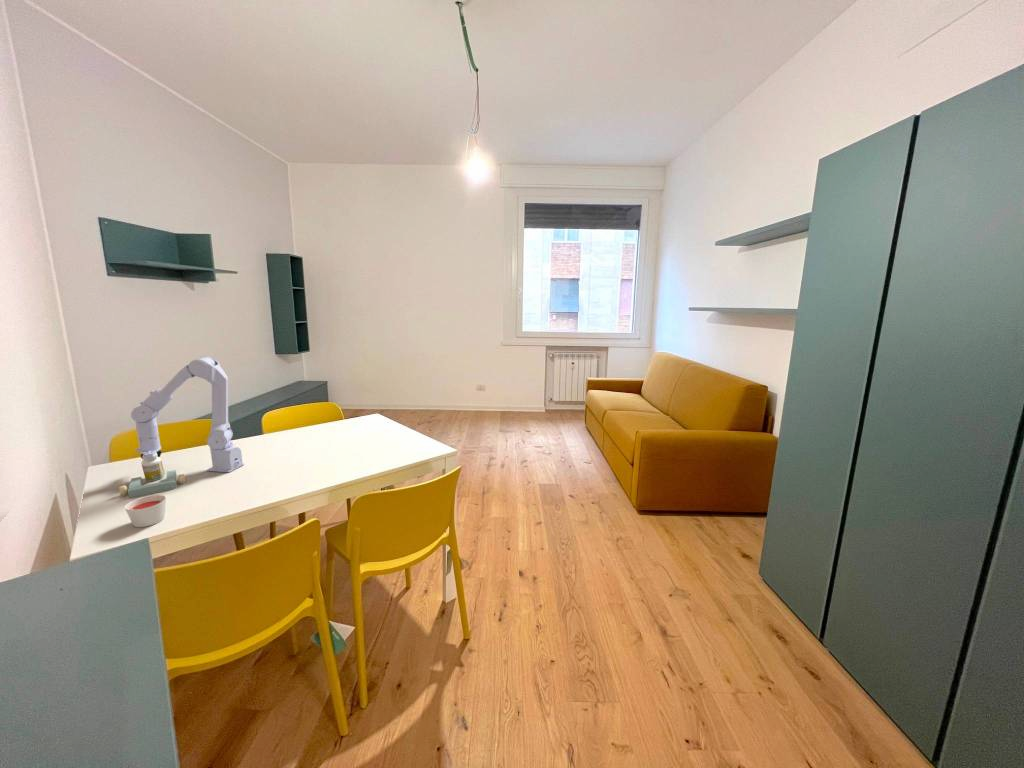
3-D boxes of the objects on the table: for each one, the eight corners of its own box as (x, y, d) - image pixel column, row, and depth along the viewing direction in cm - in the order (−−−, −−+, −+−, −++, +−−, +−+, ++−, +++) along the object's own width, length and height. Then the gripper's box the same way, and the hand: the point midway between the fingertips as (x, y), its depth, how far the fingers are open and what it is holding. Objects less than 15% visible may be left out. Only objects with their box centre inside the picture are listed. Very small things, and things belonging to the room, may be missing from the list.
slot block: (123, 486, 138) (121, 479, 138) (185, 474, 149) (183, 467, 148) (119, 500, 129) (117, 491, 129) (185, 486, 140) (183, 478, 139)
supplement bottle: (153, 472, 147) (147, 450, 144) (168, 473, 148) (163, 451, 144) (141, 481, 142) (135, 458, 139) (157, 481, 143) (151, 459, 140)
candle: (130, 533, 111) (126, 513, 110) (126, 521, 117) (123, 502, 116) (171, 521, 118) (168, 501, 117) (166, 510, 124) (163, 491, 123)
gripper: (135, 433, 147) (140, 467, 150) (131, 444, 136) (137, 480, 139) (160, 430, 152) (165, 463, 154) (158, 440, 141) (163, 476, 143)
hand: (153, 471), depth 147 cm, fingers closed, pressing on supplement bottle
